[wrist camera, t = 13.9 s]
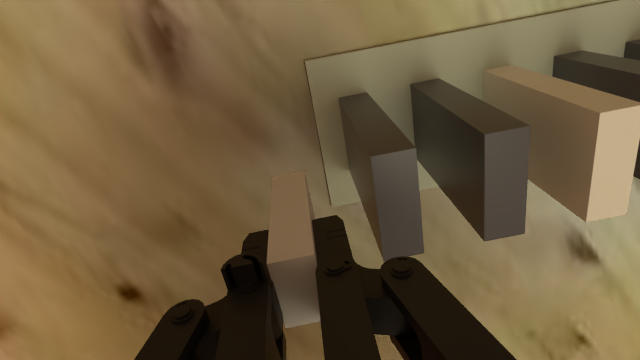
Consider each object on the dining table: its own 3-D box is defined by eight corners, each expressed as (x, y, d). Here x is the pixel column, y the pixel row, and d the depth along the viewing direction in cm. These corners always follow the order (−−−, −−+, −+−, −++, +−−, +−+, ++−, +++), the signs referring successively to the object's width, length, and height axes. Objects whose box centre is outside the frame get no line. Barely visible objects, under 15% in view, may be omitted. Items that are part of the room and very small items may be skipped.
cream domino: (482, 145, 27) (585, 222, 17) (482, 70, 24) (600, 113, 15) (509, 140, 27) (626, 214, 17) (511, 64, 24) (645, 104, 15)
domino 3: (548, 132, 27) (685, 202, 17) (553, 55, 24) (713, 90, 15) (574, 127, 27) (725, 194, 17) (582, 50, 24) (759, 81, 15)
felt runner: (331, 205, 28) (331, 207, 28) (304, 60, 24) (304, 61, 23) (652, 142, 28) (657, 144, 28) (682, -13, 24) (688, -13, 23)
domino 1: (349, 171, 26) (383, 260, 17) (338, 97, 24) (370, 156, 15) (376, 165, 26) (424, 253, 17) (366, 92, 24) (416, 147, 15)
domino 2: (415, 158, 26) (484, 241, 17) (410, 83, 24) (484, 134, 15) (442, 153, 27) (524, 233, 17) (438, 78, 24) (530, 125, 15)
